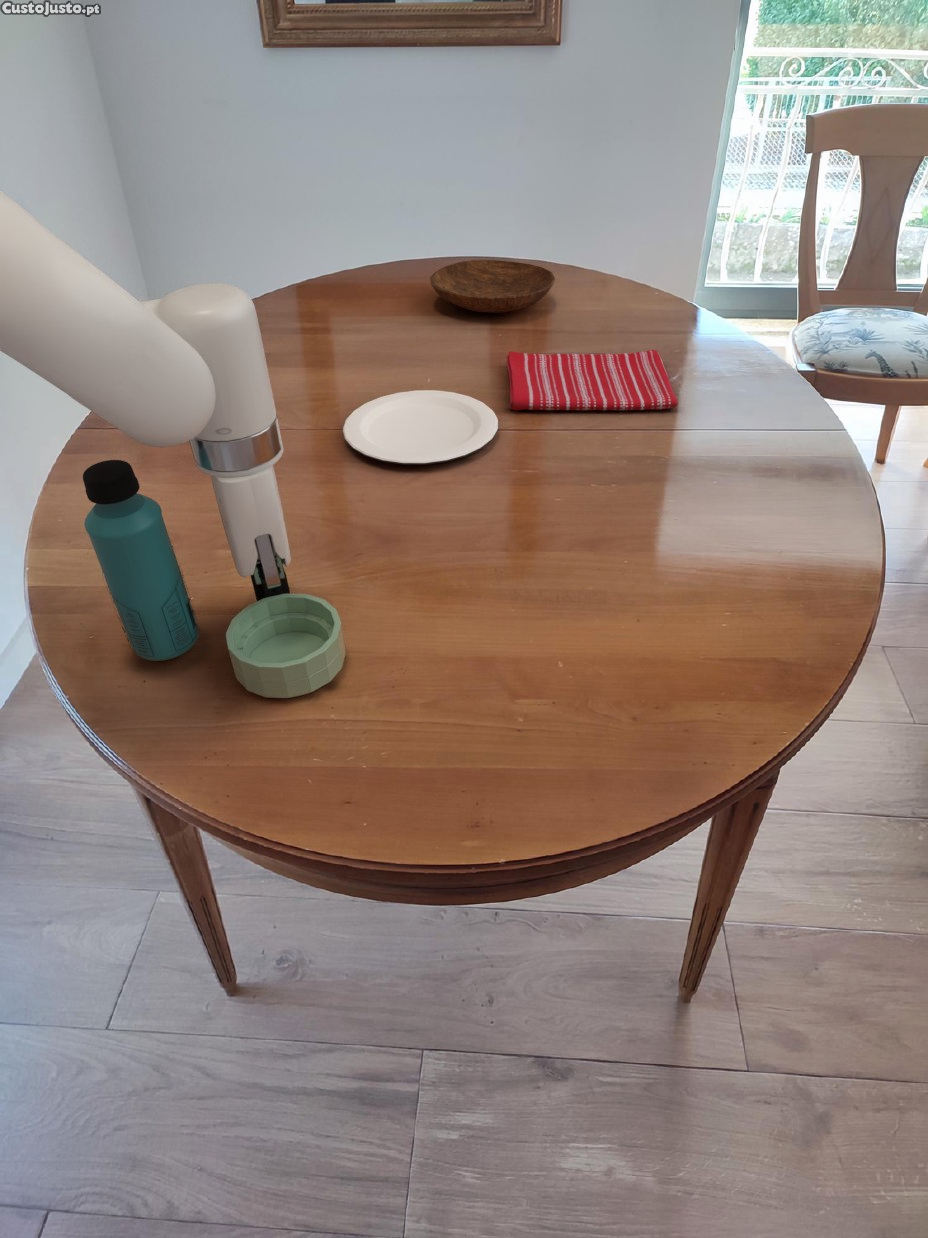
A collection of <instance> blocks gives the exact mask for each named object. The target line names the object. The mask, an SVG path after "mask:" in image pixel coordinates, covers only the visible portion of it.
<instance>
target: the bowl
mask: <svg viewBox="0 0 928 1238" xmlns="http://www.w3.org/2000/svg"><path fill="white" fill-rule="evenodd" d="M429 281H430V285H431V286H432V288H433V290H434V291H435V293H437V294H438V295H439V296H440V297H441V298H442V299H443V300H444V301H446V302H448V303H450V304H452V305H455V306H458V307H459V308H462V309H465V310H469V311H472V312H476V313H489V314H491V313H492V314H501V313H509V312H510V313H511V312H514V311H519V310H521V309H525V308H527V307H529V306H532V305H535V304H536V303H538V302H539V301H540V300H541V299H543V298H544V297H545V296H546V295H547V294H548V293H549V292H550V290H551V288H552V287H553V285H554V283H555V281H556V277H555V275H554V274H553V272H552V271H551V270H549V269H546V268H545V267H543V266H538V265H535V264H532V263H524V262H518V261H507V260H497V259H496V260H495V259H473V260H464V261H460V262H455V263H451V264H448V265H445V266H443V267H442V268H440V269H438V270H435V272H434V273H433V274H432V275H431V276H430V277H429Z"/></svg>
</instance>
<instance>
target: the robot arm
mask: <svg viewBox="0 0 928 1238" xmlns="http://www.w3.org/2000/svg"><path fill="white" fill-rule="evenodd" d="M0 352H2V353H3V354H5V355H7V356H8V357H10V358H11V359H12V360H14V361H16V362H17V363H19V364H21V365H22V366H23V367H25V368H27V369H29V370H30V371H32V372H33V373H34V374H36V375H37V376H39V377H41V378H42V379H43V380H45V381H46V382H48V383H50V384H51V385H52V386H54V387H56V388H57V389H59V390H60V391H62V392H63V393H64V394H66V395H68V396H69V397H70V398H71V399H72V400H74V401H75V402H77V403H78V404H79V405H81V406H83V407H84V408H86V409H88V411H91V412H92V413H94V414H95V415H96V416H98V417H100V418H102V419H104V421H106V422H107V423H108V424H110V425H112V426H113V427H115V428H117V429H118V430H119V431H121V432H122V433H123V434H125V435H126V436H128V438H130V439H132V440H133V441H135V442H138V443H140V444H142V445H146V446H150V447H157V448H170V447H171V448H172V447H176V446H180V445H183V444H186V443H187V442H189V445H190V449H191V453H192V456H193V460H194V463H195V467H196V468H197V469H198V471H200V472H202V473H203V474H205V475H207V476H210V480H211V484H212V489H213V492H214V497H215V499H216V500H215V501H216V503H217V507H218V511H219V515H220V518H221V522H222V525H223V530H224V534H225V536H226V540H227V544H228V547H229V550H230V552H231V553H230V554H231V557H232V560H233V563H234V566H235V569H236V572H237V574H238V575H239V576H240V577H242V578H247V577H249V576H250V580H251V583H252V587H253V591H254V594H255V599H256V602H257V601H259V600H261V599H263V598H267V597H272V596H276V595H281V594H291V591H290V586H289V582H288V581H289V580H288V577H287V573H286V571H285V569H284V566H285V567H286V568H288V566H290V563H291V562H292V557H291V550H290V544H289V538H288V532H287V527H286V521H285V516H284V511H283V505H282V501H281V495H280V490H279V486H278V481H277V476H276V473H275V467H274V465H275V464H277V462H278V461H279V460H280V459H281V458H282V456H283V454H284V445H283V439H282V434H281V429H280V424H279V420H278V415H277V409H276V404H275V399H274V394H273V389H272V384H271V378H270V373H269V369H268V368H269V367H268V364H267V359H266V353H265V349H264V343H263V338H262V333H261V328H260V323H259V318H258V315H257V310H256V306H255V303H254V301H253V300H252V298H251V296H250V295H249V294H248V293H247V292H246V291H245V290H243V289H242V288H240V287H238V286H236V285H232V284H229V283H219V282H218V283H217V282H208V283H197V284H192V285H189V286H184V287H181V288H179V289H176V290H174V291H172V292H170V293H168V294H166V295H165V296H164V297H162V298H156V299H151V300H150V299H149V300H144V301H139V300H138V299H137V298H136V297H134V296H133V295H132V294H131V293H129V292H128V291H127V290H126V289H124V288H123V287H122V286H121V285H119V284H118V282H115V280H113V279H112V278H110V276H108V275H107V274H105V273H104V271H102V270H100V269H99V268H98V267H97V266H95V265H94V264H93V263H92V262H90V261H89V260H87V259H86V258H85V257H83V256H82V255H81V254H80V253H79V252H78V251H76V250H75V249H74V248H72V247H71V246H69V244H67V243H65V241H63V240H62V239H61V238H59V237H58V236H57V235H55V233H53V232H52V231H51V230H50V229H48V228H47V227H46V226H45V225H43V223H42V222H40V221H39V220H37V218H36V217H34V216H33V215H32V214H31V213H30V212H28V210H26V209H25V208H23V206H21V205H20V204H19V203H17V202H16V201H15V200H13V198H11V197H10V196H9V195H8V194H6V193H5V192H3V191H2V190H1V189H0Z"/></svg>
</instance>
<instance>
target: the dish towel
mask: <svg viewBox="0 0 928 1238" xmlns="http://www.w3.org/2000/svg"><path fill="white" fill-rule="evenodd" d="M506 369H507V372H508V375H509V376H508V377H509V378H508V379H509V389H510V391H509V409H510V410H513V411H522V410H523V411H524V410H529V411H596V410H597V411H644V410H665V409H674V408H677V406H678V405H679V400H678V399H677V397H676V395H675V393H674V390H673V387H672V384H671V381H670V378H669V376H668V373H667V370H666V368H665V366H664V363H663V360H662V357H661V355H660V353H659V352H658V350H657V349H648V350H644V351H643V350H641V351H636V352H635V351H634V352H632V353H628V352H624V353H599V354H598V353H597V354H594V353H589V354H587V353H581V354H579V353H553V354H544V353H526V352H523V353H521V352H518V351H513V350H510V351H508V355H507V356H506Z"/></svg>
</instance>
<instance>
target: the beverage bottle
mask: <svg viewBox="0 0 928 1238" xmlns="http://www.w3.org/2000/svg"><path fill="white" fill-rule="evenodd" d="M82 481H83V485H84V489H85V494H86V497H87V500H89V502H91V503H93V504H94V505H93V506H92V508H91V509H90V510H89V512H88V513H87V515H86V517H85V519H84V525H83V526H84V529H85V531H86V533H87V534H88V537H89V540H90V542H91V545H92V547H93V550H94V552H95V553H94V554H95V556H96V558H97V561H98V563H99V565H100V568H101V571H102V575H103V578H102V579H103V581H104V579H105V582H106V585H105V584H104V585H105V587H106V589H107V591H108V594H109V597H110V599H112V602H113V606H114V607H115V608H114V610H115V611H116V612H117V614H116V616H117V619H118V620H119V622H121V624H120V626H121V628H122V631H123V633H124V636H125V637H126V639H127V642H128V644H129V647H131V649H132V651H133V652H134V653H135V654H137V656H138V657H140V658H142V659H144V660H148V661H153V662H154V661H155V662H157V661H158V662H159V661H161V662H162V661H167V660H171V659H174V658H177V657H179V656H181V655H183V654H185V653H186V652H188V651H189V650H190V649H192V647H193V646H194V645H195V643H196V642H197V641H198V637H199V632H200V630H199V625H198V618H197V614H196V611H195V609H194V607H193V605H192V598H191V597H192V596H191V594H190V592H189V590H188V586H187V582H186V581H185V579H184V577H185V576H184V572H183V571H182V570H183V569H182V567H180V565H181V563H180V562H179V561H178V559H177V552H176V550H175V548H174V546H173V544H172V542H171V538H170V536H169V533H168V529H167V526H166V523H165V520H164V517H163V512H162V511H163V510H162V508H161V505H160V504H159V503H158V502H157V501H156V500H155V499H153V498H151V497H149V496H146V495H143V494H141V493H138V492H139V490H140V482H139V479H138V478H137V476H136V474H135V472H134V469H133V467H132V465H131V464H130V463H129V462H128V461H126V460H123V459H122V460H121V459H108V460H103V461H98V462H96V463H93V464H92V465H90V466H89V467H87V468H86V469H85V470H84V471H83V473H82ZM178 562H179V563H178Z"/></svg>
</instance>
